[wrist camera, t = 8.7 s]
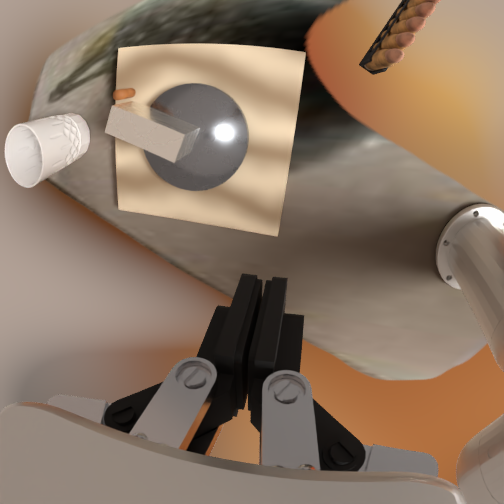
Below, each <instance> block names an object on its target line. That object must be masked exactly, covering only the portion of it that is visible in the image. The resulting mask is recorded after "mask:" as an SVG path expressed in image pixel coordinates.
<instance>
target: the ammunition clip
mask: <svg viewBox="0 0 504 504" xmlns="http://www.w3.org/2000/svg"><path fill="white" fill-rule="evenodd" d="M440 1H441V0H402V2H401V3H400V5H399V6H398V8H397V9H396V10H395V12H394V13H393V15H392V16H391V18H390V19H389V21H388V22H387V24H386V25H385V27H384V28H383V30H382V31H381V32H380V34H379V36H378V37H377V38H376V40H375V42H374V43H373V45H372V46H371V47H370V49H369V50H368V52H367V53H366V55H365V56H364V58H363V59H362V61H361V62H360V64H359V65H360V66H361V67H363V68H364V69H366V70H367V71H368V72H370V73H371V74H377V73H380V72H385V71H386V70H387V68H388V67H391V66H393V65H395V64H396V63H398V62H399V61H401V60H402V59H403V57H404V53H403V50H405V48H406V47H408V46H410V45H411V44H413V42H414V41H415V33H416V32H418V31H419V30H421V29H422V28H423V27H424V26H425V24H426V20H425V19H426V18H427V17H428V16H430V15H431V14H432V13H433V12H434V10H435V8H436V6H435V5H436V4H437V3H438V2H440Z"/></svg>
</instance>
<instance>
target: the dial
mask: <svg viewBox="0 0 504 504" xmlns="http://www.w3.org/2000/svg"><path fill="white" fill-rule="evenodd" d="M105 133H107V134H109V135H112V136H114V137H117V138H119V139H121V140H124V141H126V142H128V143H131V144H133V145H135V146H137V147H140V148H142V149H144V153H145V156H146V158H147V160H148V162H149V164H150V165H151V167H152V168H153V170H154V171H155V172H156V173H157V174H158V175H159V176H160V177H161V178H162V179H163V180H165V181H166V182H167V183H169V184H171V185H173V186H175V187H177V188H180V189H184V190H189V191H203V190H208V189H212V188H215V187H217V186H219V185H221V184H223V183H224V182H226V181H227V180H228V179H230V178H231V177H232V176H233V175H234V174H235V172H236V171H237V170H238V168H239V167H240V166H241V164H242V162H243V160H244V158H245V156H246V153H247V149H248V144H249V130H248V124H247V121H246V118H245V116H244V113H243V111H242V110H241V108H240V106H239V105H238V104H237V103H236V101H235V100H234V99H233V98H232V97H231V96H230V95H228V94H227V93H226V92H224V91H223V90H221V89H219V88H217V87H214V86H211V85H207V84H202V83H190V84H182V85H179V86H176V87H173V88H171V89H169V90H167V91H165V92H164V93H163V94H161V95H160V96H159V97H158V98H157V99H156V100H155V101H154V102H153V103H152V105H151V106H150V107H149V106H146V105H143V104H141V103H138V102H135V101H131V102H126V103H121V104H116V105H112V107H111V111H110V114H109V118H108V122H107V125H106V129H105Z"/></svg>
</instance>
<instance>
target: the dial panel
mask: <svg viewBox="0 0 504 504" xmlns="http://www.w3.org/2000/svg"><path fill="white" fill-rule="evenodd" d="M305 56H306V52H300V51H293V50H286V49H278V48H269V47H259V46H246V45H229V44H164V45H147V46H135V47H125V48H119V49H118V61H117V78H116V90H115V91H114V92H113V98H114V99H115V100H116V104H121V103H126V102H131V101H135V102H138V103H141V104H143V105H146V106H149V107H150V106H151V105H152V103H153V102H154V101H155V100H156V99H157V98H158V97H159V96H160V95H161V94H163V93H164V92H165V91H167V90H169V89H171V88H173V87H176V86H179V85H182V84H190V83H202V84H207V85H211V86H214V87H217V88H219V89H221V90H223V91H224V92H226V93H227V94H228V95H230V96H231V97H232V98H233V99H234V100H235V101H236V103H237V104H238V105H239V106H240V108H241V110H242V111H243V113H244V116H245V118H246V121H247V124H248V130H249V144H248V149H247V153H246V156H245V158H244V160H243V162H242V164H241V166H240V167H239V168H238V170H237V171H236V172H235V174H234V175H233V176H232V177H231V178H230V179H228V180H227V181H226V182H224V183H223V184H221V185H219V186H217V187H215V188H212V189H208V190H203V191H189V190H184V189H180V188H177V187H175V186H173V185H171V184H169V183H167V182H166V181H165V180H163V179H162V178H161V177H160V176H159V175H158V174H157V173H156V172H155V171H154V170H153V168H152V167H151V165H150V164H149V162H148V160H147V158H146V156H145V153H144V149H142V148H140V147H137V146H135V145H133V144H131V143H128V142H126V141H124V140H121V139H119V138H117V137H115V148H116V176H117V193H118V207H119V210H125V211H131V212H137V213H143V214H150V215H156V216H162V217H168V218H174V219H180V220H186V221H192V222H198V223H203V224H209V225H215V226H221V227H227V228H232V229H238V230H244V231H249V232H255V233H260V234H266V235H271V236H277V237H278V232H279V227H280V221H281V215H282V209H283V203H284V197H285V190H286V184H287V178H288V172H289V165H290V159H291V153H292V146H293V140H294V133H295V126H296V120H297V113H298V106H299V99H300V92H301V85H302V78H303V71H304V63H305ZM116 104H115V105H116Z"/></svg>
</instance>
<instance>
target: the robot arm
mask: <svg viewBox="0 0 504 504" xmlns="http://www.w3.org/2000/svg"><path fill="white" fill-rule="evenodd" d="M436 265H437V268H438V271H439V273H440V275H441V277H442V278H443V280H444V281H445V282H446V283H447V284H448V285H450V286H451V287H454V288H456V289H461V290H462V292H463V294H464V295H465V297H466V299H467V301H468V303H469V305H470V307H471V309H472V311H473V313H474V315H475V317H476V319H477V321H478V323H479V325H480V327H481V329H482V331H483V333H484V336H485V338H486V340H487V342H488V344H489V347H490V349H491V351H492V353H493V355H494V358H495V360H496V362H497V364H498V365H499V367H500V368H501V369H502V370H503V371H504V213H503V212H502V211H501V210H500V209H498V208H497V207H495V206H492V205H490V204H476V205H472V206H469V207H467V208H465V209H463V210H462V211H460V212H459V213H458V214H456V215H455V216H454V217H453V218H452V219H451V220H450V221H449V222H448V224H447V225H446V226H445V228H444V230H443V231H442V233H441V235H440V238H439V240H438V244H437V247H436ZM286 289H287V278H280V277H273V278H272V281H270V280H267V281H266V284H265V289H264V293H263V297H262V280H261V279H257V275H250V274H242V275H241V278H240V281H239V284H238V287H237V289H236V292H235V295H234V298H233V301H232V304H231V306H230V307H225V306H217V307H216V310H215V312H214V315H213V317H212V319H211V322H210V324H209V327H208V329H207V332H206V334H205V337H204V339H203V342H202V344H201V347H200V349H199V352H198V354H197V357H191V358H186V359H183V360H181V361H180V362H178V363H177V364H176V365H175V366H174V367H173V368H172V370H171V371H170V373H169V374H168V376H167V377H166V379H165V380H164V382H161V383H160V384H157V385H154V386H152V387H149V388H147V389H145V390H142V391H140V392H138V393H135V394H132V395H130V396H127V397H125V398H122V399H120V400H117V401H116V402H114V403H108V402H107V401H106V400H99V399H90V398H83V397H76V396H70V395H63V394H62V395H56V396H53V397H52V398H51V399H49V400H48V402H47V404H43V403H37V402H36V403H35V402H17V403H13V404H10V405H8V406H6V407H5V408H4V409H3V410H2V411H0V504H504V414H502V415H501V416H500V417H499V418H497V419H496V420H495V421H494V422H492V423H491V424H490V425H488V426H487V427H486V428H484V429H483V430H482V431H480V432H479V433H478V434H477V435H475V436H474V437H473V438H472V439H471V440H470V441H469V442H468V443H467V444H466V445H465V447H464V448H463V450H462V451H461V453H460V455H459V458H458V461H457V466H456V477H457V483H458V487H459V488H458V487H457V486H456V485H454V484H452V483H451V482H448V481H446V480H444V479H441V478H438V464H437V462H436V460H435V458H434V457H432V456H431V455H430V454H427V453H423V452H416V451H409V450H403V449H396V448H390V447H385V446H380V445H375V444H373V445H372V446H368V445H363V444H362V443H361V442H360V441H359V440H358V439H357V438H356V437H355V436H354V435H352V434H351V433H350V432H349V431H348V430H347V429H346V428H344V427H343V426H342V425H341V424H340V423H339V422H338V421H337V420H336V419H335V418H333V417H332V416H331V415H330V414H329V413H328V412H327V411H326V410H325V409H324V408H322V407H321V406H320V405H319V404H318V403H317V402H316V401H315V400H314V399H313V398H312V390H311V386H310V382H309V381H308V380H307V378H306V377H305V376H303V375H302V374H300V362H301V350H302V338H303V324H304V315H296V314H286V313H284V312H285V301H286ZM247 394H248V410H249V411H251V423H252V424H253V425H254V427H255V428H256V429H257V430H258V431H259V432H260V445H259V465H257V464H250V463H244V462H238V461H232V460H226V459H221V458H216V457H211V456H209V455H210V453H211V451H212V449H213V447H214V445H215V443H216V441H217V439H218V437H219V435H220V433H221V430H222V428H223V424H224V423H225V422H228V421H229V420H231V419H232V417H233V416H235V417H236V416H237V413H238V409H242V410H243V409H244V407H245V403H246V399H247Z"/></svg>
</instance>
